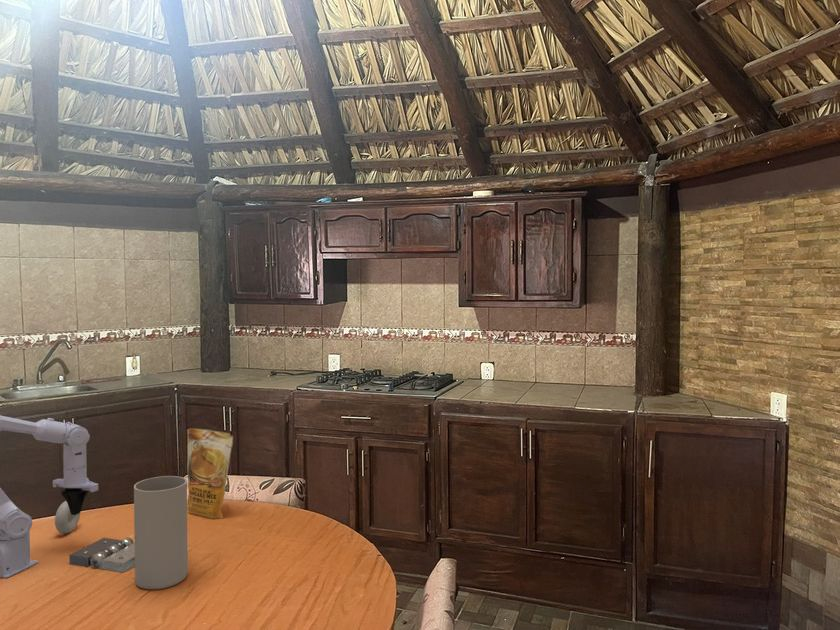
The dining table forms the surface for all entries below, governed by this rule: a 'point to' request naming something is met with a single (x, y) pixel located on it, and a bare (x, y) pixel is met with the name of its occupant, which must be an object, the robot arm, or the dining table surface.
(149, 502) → the cylinder vase
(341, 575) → the dining table surface
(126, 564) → the steel leaf
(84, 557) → the gunmetal leaf
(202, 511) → the pancake mix bag
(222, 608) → the dining table surface
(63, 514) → the donut
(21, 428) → the robot arm
